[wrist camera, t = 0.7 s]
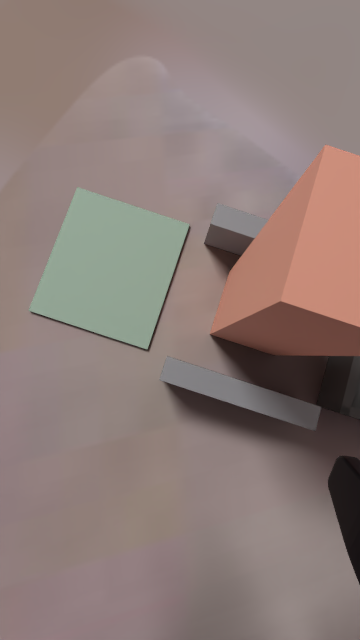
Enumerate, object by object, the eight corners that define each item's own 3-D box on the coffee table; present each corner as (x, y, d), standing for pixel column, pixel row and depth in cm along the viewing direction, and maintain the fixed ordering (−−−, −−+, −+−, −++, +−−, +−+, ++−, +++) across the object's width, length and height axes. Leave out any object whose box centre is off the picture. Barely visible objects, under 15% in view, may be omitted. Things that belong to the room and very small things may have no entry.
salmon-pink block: (273, 355, 22) (449, 357, 8) (209, 334, 22) (280, 300, 8) (291, 292, 23) (483, 197, 9) (229, 272, 23) (325, 144, 9)
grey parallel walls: (291, 418, 22) (315, 431, 18) (160, 376, 22) (159, 379, 18) (332, 266, 23) (361, 250, 20) (209, 225, 23) (217, 203, 20)
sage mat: (147, 349, 22) (147, 349, 22) (29, 311, 22) (28, 310, 22) (189, 225, 23) (189, 224, 23) (78, 188, 23) (77, 187, 23)
